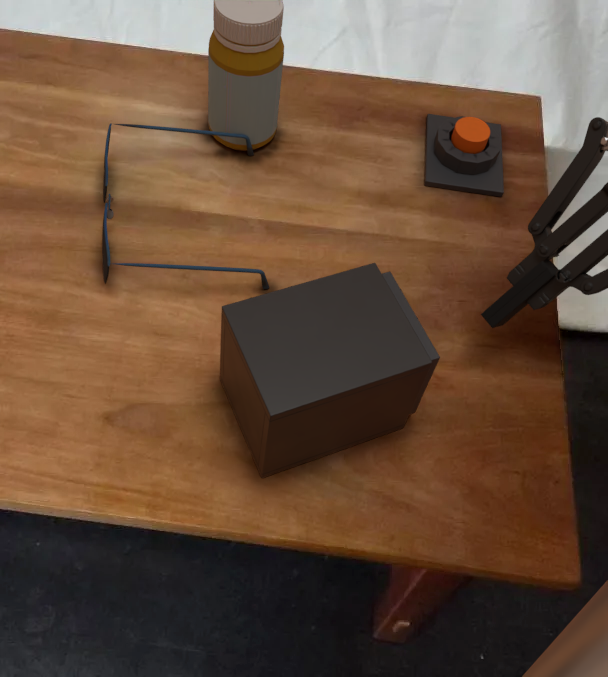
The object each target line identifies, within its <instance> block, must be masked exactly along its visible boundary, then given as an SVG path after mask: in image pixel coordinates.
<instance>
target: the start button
mask: <svg viewBox="0 0 608 677" xmlns="http://www.w3.org/2000/svg"><path fill="white" fill-rule="evenodd" d="M485 122H486V121H484V120H482V119H480V118H478V117H475V116H464V118H461V119H459V120H458V121H457V122H456V124H455V127H454V130H453V133H452V136H451V141H452V144H453V146H454V147H455V148H457V149H459V150H460V151H462V152H464V153H470V154H477V153H480V152H482V151H483V150H484V149H485V146H486V144H487V141H488V139H489V136H490V128H489V126H488V125H487V124H486V123H485Z"/></svg>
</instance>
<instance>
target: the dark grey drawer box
mask: <svg viewBox="0 0 608 677" xmlns="http://www.w3.org/2000/svg"><path fill="white" fill-rule="evenodd" d="M382 274H383V273H382V272H381V270H380V268H379V265H378V264H377V263H376V262H371V263H368V264H364V265H362V266H357V267H354V268H351V269H347V270H344V271H340V272H337V273H333V274H330V275H327V276H323V277H320V278H316V279H312V280H309V281H304V282H302V283H299V284H294V285H291V286H288V287H285V288H280V289H277V290H274V291H271V292H267V293H262V294H260V295H256V296H253V297H249V298H245V299H242V300H238V301H235V302H231V303H228V304H225V305H224V304H223V305H222V306H221V313H220V315H221V316H220V322H221V323H220V347H219V348H220V352H219V381H220V383H221V385H222V388H223V391H224V392H225V395H226V397H227V399H228V402H229V405H230V407H231V409H232V412H233V414H234V416H235V419H236V421H237V423H238V426H239V428H240V431H241V433H242V435H243V437H244V440H245V443H246V445H247V448H248V449H249V452H250V455H251V456H252V459H253V461H254V464H255V466H256V469H257V471H258V473H259V476H260V478H261V479H264V478H266V477H267V478H268V477H269V476H272V475H275V474H278V473H281V472H283V471H287V470H289V469H292V468H295V467H297V466H300V465H303V464H307V463H309V462H311V461H315V460H316V459H320V458H322V457H327V456H328V455H329V456H330V455H331V454H334V453H337V452H341V451H342V450H346V449H348V448H352V447H355V446H356V445H360V444H363V443H365V442H368V441H370V440H373V439H377V438H379V437H382V436H385V435H387V434H391V433H393V432H396V431H400V430H402V429H404V427H405V425H406V422H407V421H408V419H409V417H410V415H411V414H410V412H411V410H412V407H413V405H414V403H415V401H416V398H417V396H418V394H419V392H420V389H421V387H422V385H423V383H424V380H425V378H426V376H427V374H428V372H429V369H430V367H431V365H432V361H431V359H430V357H429V355H428V354H427V352H426V350H425V348H424V347H423V345H422V343H421V341H420V340H419V338H418V336H417V334H416V333H415V331H414V329H413V327H412V326H411V324H410V322H409V320H408V319H407V317H406V315H405V314H404V312H403V310H402V308H401V307H400V305H399V303H398V301H397V300H396V298H395V296H394V294H393V293H392V291H391V289H390V287H389V286H388V284H387V282H386V280H385V279H384V277H383V275H382ZM409 414H410V415H409Z"/></svg>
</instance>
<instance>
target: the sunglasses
mask: <svg viewBox="0 0 608 677" xmlns="http://www.w3.org/2000/svg"><path fill="white" fill-rule="evenodd" d="M112 125H113V123H109V125H108V129H107V134H106V138H105V147H104V155H103V156H104V157H103V179H102V180H103V183H102V199H103V201H102V202H103V204H104V209H103V210H104V211H103V218H102V231H101V233H102V234H101V255H102V256H101V257H102V259H101V260H102V276H103V277H102V278H103V283H104V285H106V284H107V283H108V278H109V273H110V266H111V252H110V245H109V236H108V220H112V219H113V218H114V215H115V214H114V211H113V209H112V208H111V203H113V202H114V200H115V198H114V197H113V196H111V193H108V197H107V192H108V186H109V160H108V159H109V150H110V148H109V147H110V141H111V133H112ZM114 125H116V126H122V127H129V128H135V129H143V130H144V129H145V130H155V131H164V132H176V133H184V134H186V133H187V134H194V135H195V134H197V135H207V136H213V135H216V136H227V137H237V138H244V139H246V145H247V150H246V152H247V156H249V157H253V156H254V155H255V153H254V150H253V149H252V146H251V142H250V139H249V137H248V136H246V135H243V134H235V133H225V132H215V131H210V130H205V129H204V130H203V129H193V128H181V127H173V126H172V127H171V126H159V125H147V124H133V123H132V124H130V123H114ZM112 265H117V266H127V267H136V268H137V267H138V268H153V269H170V270H189V271H207V272H225V273H226V272H229V273H248V274H259V275H260V279H261V280H260V281H261V287H262V289H263V290H269V289H270V285H269V282H268V278H267V275H266V273H265V271H264V270H262V269H259V268H246V267H244V268H243V267H230V266H229V267H227V266H212V265H211V266H207V265H191V264H190V265H187V264H165V263H143V262H142V263H141V262H140V263H139V262H119V263H117V262H115V263H114V262H113V263H112Z"/></svg>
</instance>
